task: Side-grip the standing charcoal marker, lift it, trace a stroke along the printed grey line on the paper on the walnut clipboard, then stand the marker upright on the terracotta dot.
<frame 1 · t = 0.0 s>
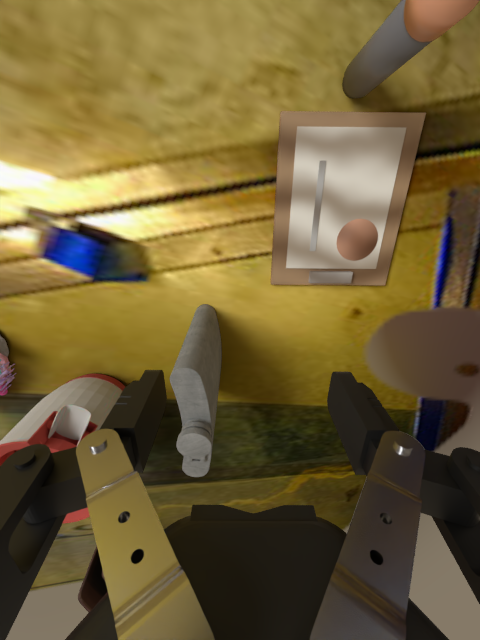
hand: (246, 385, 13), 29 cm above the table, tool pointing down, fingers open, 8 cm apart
clipboard: (337, 208, 37), on the table
marker: (355, 82, 31), on the table
hip flask: (210, 347, 46), on the table
citrus juicer: (104, 394, 50), on the table
letter holder: (143, 541, 70), on the table
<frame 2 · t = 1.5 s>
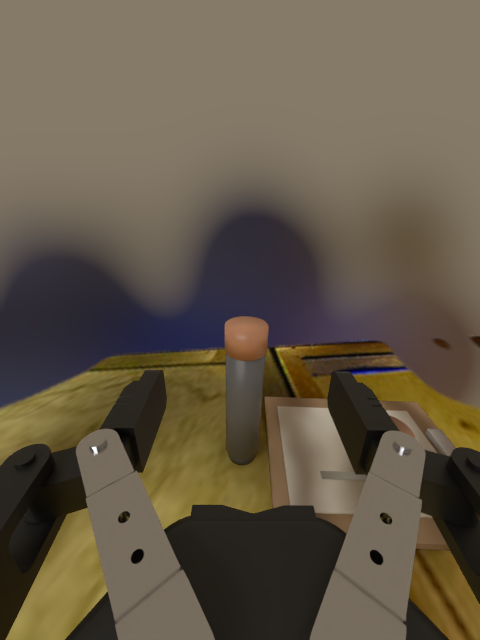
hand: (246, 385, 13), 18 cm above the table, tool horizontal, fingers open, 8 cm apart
clipboard: (362, 457, 30), on the table
marker: (241, 452, 30), on the table
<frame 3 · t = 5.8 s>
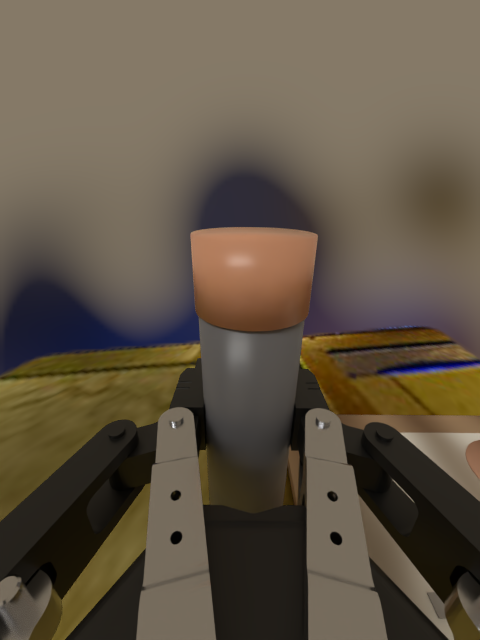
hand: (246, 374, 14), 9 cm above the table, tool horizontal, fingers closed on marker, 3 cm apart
marker: (244, 538, 15), on the table, touching gripper
when the fingers open (11 cm above the table, at t = 13.4 s): marker stays where it is, resting on clipboard.
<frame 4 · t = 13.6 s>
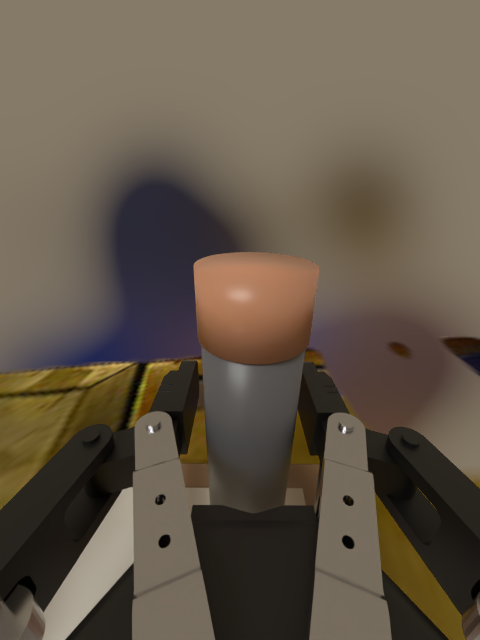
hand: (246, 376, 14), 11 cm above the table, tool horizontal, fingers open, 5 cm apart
clipboard: (160, 634, 13), on the table
marker: (245, 549, 15), point 1 cm above the table, touching clipboard
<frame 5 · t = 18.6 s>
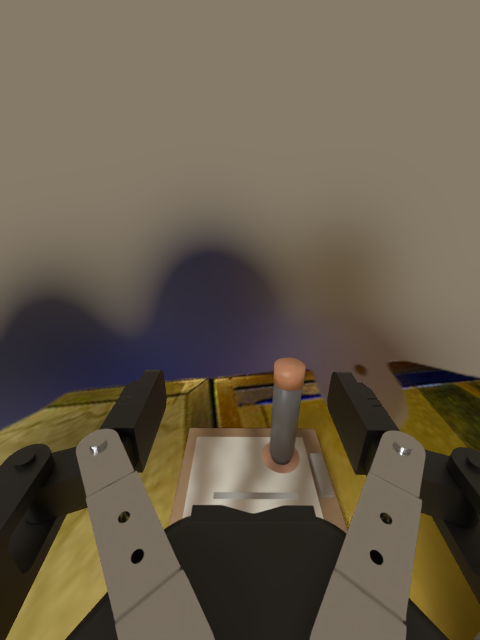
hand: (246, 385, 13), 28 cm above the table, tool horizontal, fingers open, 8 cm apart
clipboard: (254, 479, 38), on the table
marker: (280, 455, 40), point 1 cm above the table, touching clipboard
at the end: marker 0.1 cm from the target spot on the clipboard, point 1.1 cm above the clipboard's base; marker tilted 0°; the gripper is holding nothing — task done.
